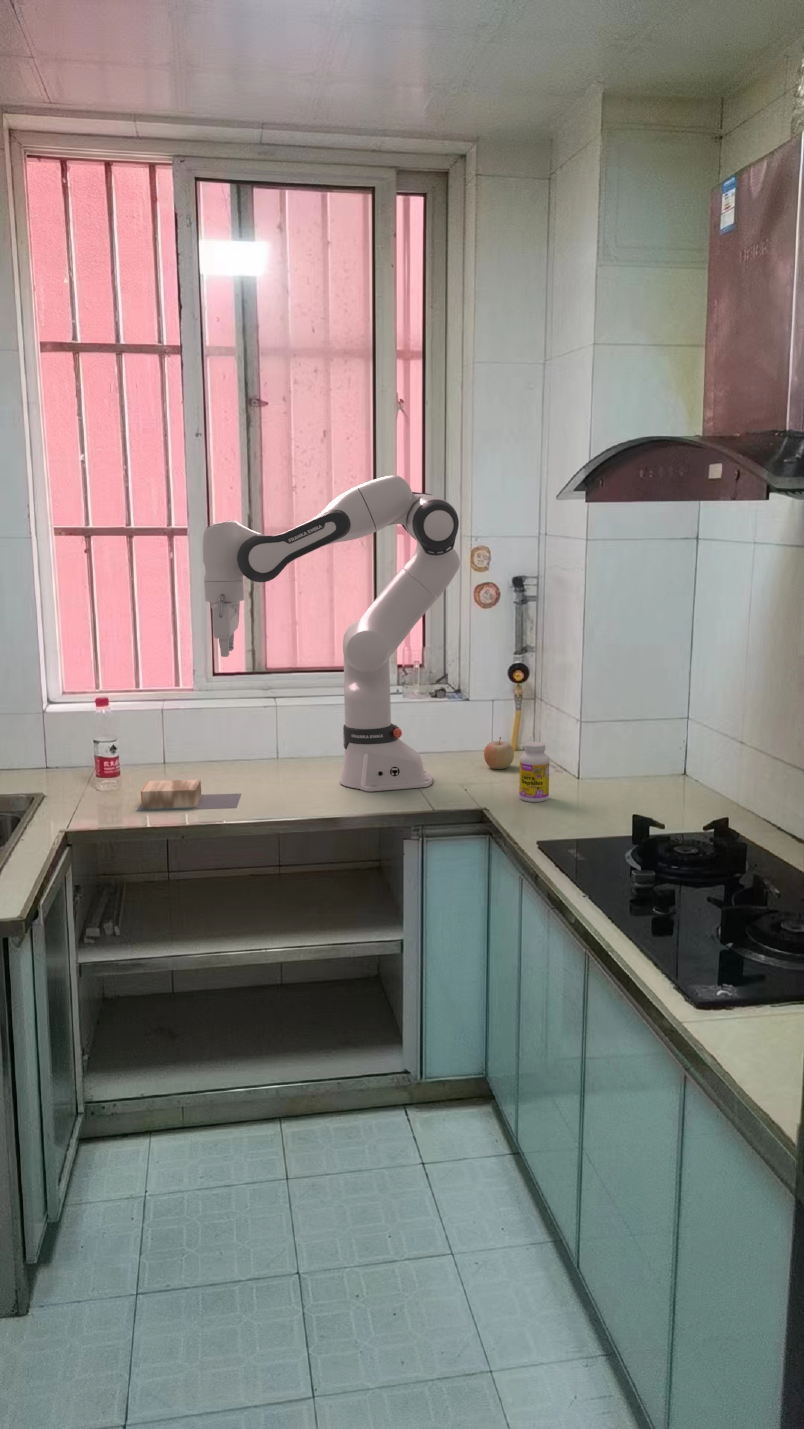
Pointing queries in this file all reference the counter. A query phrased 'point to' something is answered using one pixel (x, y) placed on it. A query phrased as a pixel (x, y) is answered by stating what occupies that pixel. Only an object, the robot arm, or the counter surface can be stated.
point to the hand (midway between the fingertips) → (227, 653)
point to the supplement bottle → (534, 773)
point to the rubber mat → (208, 802)
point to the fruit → (498, 754)
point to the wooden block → (171, 794)
